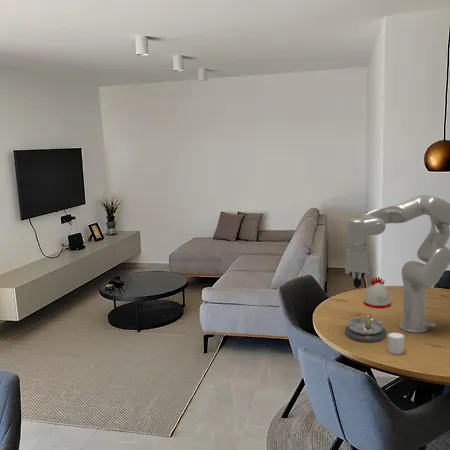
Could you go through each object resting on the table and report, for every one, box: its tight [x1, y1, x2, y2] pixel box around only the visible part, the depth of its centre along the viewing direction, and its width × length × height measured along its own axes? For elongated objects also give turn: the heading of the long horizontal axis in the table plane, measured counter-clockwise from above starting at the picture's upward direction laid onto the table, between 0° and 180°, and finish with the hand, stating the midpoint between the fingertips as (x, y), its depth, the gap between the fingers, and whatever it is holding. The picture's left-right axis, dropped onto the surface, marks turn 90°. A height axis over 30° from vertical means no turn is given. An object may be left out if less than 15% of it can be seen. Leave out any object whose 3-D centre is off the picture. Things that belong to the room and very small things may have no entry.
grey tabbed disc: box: [347, 313, 384, 336], centre depth 219 cm, size 15×15×9 cm
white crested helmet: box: [363, 276, 392, 309], centre depth 258 cm, size 14×14×15 cm
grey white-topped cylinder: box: [386, 332, 406, 355], centre depth 202 cm, size 7×7×7 cm
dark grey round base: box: [344, 324, 387, 344], centre depth 220 cm, size 18×18×2 cm
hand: (357, 286), depth 214 cm, fingers closed
